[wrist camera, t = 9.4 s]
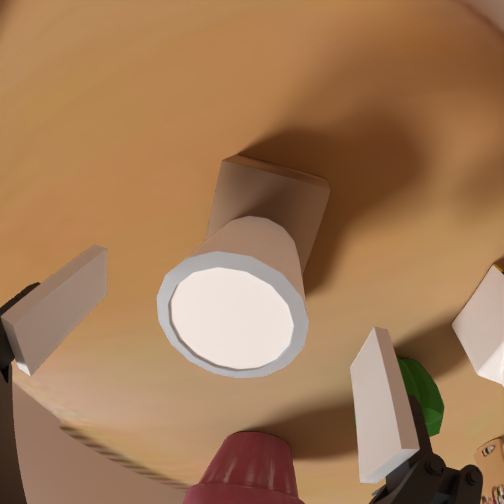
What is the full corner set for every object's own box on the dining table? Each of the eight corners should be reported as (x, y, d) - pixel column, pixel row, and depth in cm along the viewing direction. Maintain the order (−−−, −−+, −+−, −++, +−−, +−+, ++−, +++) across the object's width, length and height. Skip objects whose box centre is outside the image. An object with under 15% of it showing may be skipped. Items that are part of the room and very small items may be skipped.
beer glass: (474, 446, 31) (492, 517, 17) (508, 431, 29) (529, 497, 15) (467, 462, 33) (480, 526, 19) (498, 448, 31) (515, 509, 17)
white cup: (277, 186, 17) (262, 223, 11) (325, 283, 19) (332, 358, 13) (182, 234, 19) (128, 287, 13) (233, 317, 21) (206, 390, 15)
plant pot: (308, 419, 31) (301, 518, 19) (312, 468, 36) (305, 541, 24) (192, 415, 34) (160, 500, 22) (220, 464, 39) (200, 531, 27)
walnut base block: (208, 285, 25) (193, 312, 22) (236, 154, 21) (222, 160, 17) (283, 307, 25) (279, 337, 21) (326, 179, 20) (331, 190, 17)
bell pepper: (426, 387, 26) (447, 461, 17) (356, 405, 29) (361, 483, 20) (428, 331, 24) (463, 414, 15) (345, 354, 26) (352, 444, 17)
